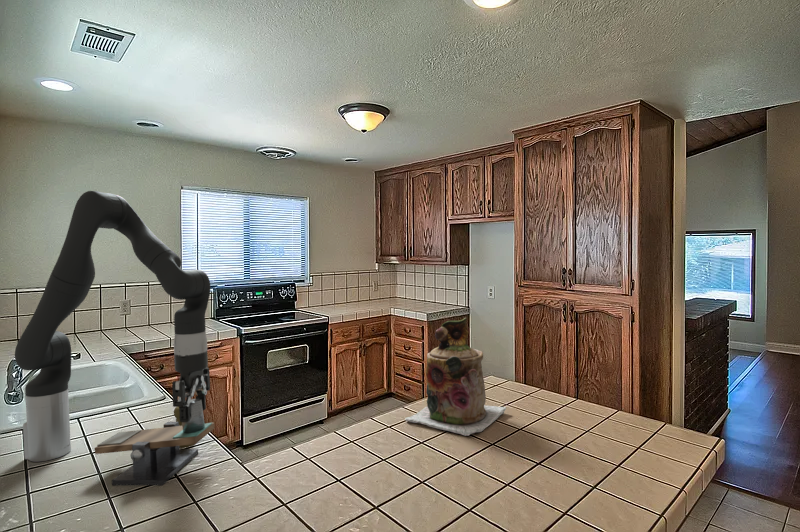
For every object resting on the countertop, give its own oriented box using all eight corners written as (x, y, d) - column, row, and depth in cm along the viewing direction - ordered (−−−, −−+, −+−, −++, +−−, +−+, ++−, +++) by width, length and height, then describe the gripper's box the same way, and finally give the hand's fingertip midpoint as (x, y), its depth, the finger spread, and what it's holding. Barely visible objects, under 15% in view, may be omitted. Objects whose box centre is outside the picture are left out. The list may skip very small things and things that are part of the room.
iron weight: (179, 434, 112) (175, 406, 112) (189, 426, 117) (186, 399, 117) (198, 432, 112) (195, 404, 112) (208, 424, 117) (205, 397, 117)
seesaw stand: (111, 485, 107) (110, 447, 107) (155, 453, 124) (153, 420, 124) (161, 485, 106) (160, 447, 106) (198, 453, 124) (197, 420, 123)
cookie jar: (442, 401, 162) (440, 311, 162) (508, 413, 148) (506, 315, 147) (402, 423, 142) (399, 320, 141) (474, 440, 128) (472, 325, 127)
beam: (95, 454, 111) (94, 446, 111) (122, 437, 121) (121, 430, 121) (195, 444, 109) (194, 436, 109) (214, 428, 119) (213, 421, 119)
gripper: (190, 345, 121) (192, 406, 122) (159, 357, 107) (162, 426, 107) (218, 344, 121) (220, 406, 121) (191, 356, 107) (193, 426, 107)
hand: (193, 415), depth 114 cm, fingers open, 7 cm apart
